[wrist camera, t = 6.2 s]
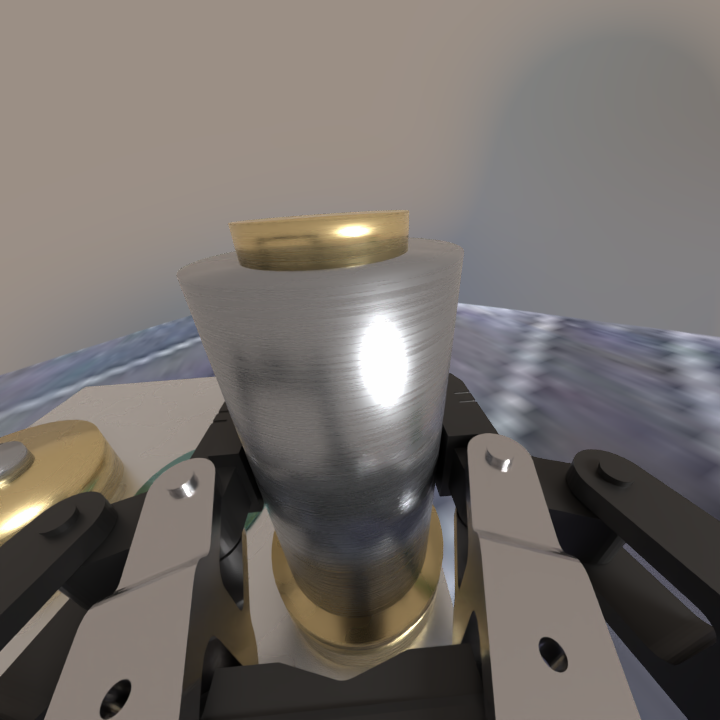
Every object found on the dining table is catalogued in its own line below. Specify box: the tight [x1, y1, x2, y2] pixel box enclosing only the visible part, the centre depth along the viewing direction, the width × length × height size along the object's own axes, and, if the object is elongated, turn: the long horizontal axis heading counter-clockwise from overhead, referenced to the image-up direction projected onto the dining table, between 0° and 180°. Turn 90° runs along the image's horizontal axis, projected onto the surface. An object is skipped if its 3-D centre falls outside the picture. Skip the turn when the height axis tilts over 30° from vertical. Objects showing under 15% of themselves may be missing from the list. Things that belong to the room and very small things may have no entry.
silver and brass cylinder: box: [177, 210, 464, 667], centre depth 8 cm, size 6×6×12 cm
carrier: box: [0, 377, 454, 681], centre depth 14 cm, size 25×19×4 cm
